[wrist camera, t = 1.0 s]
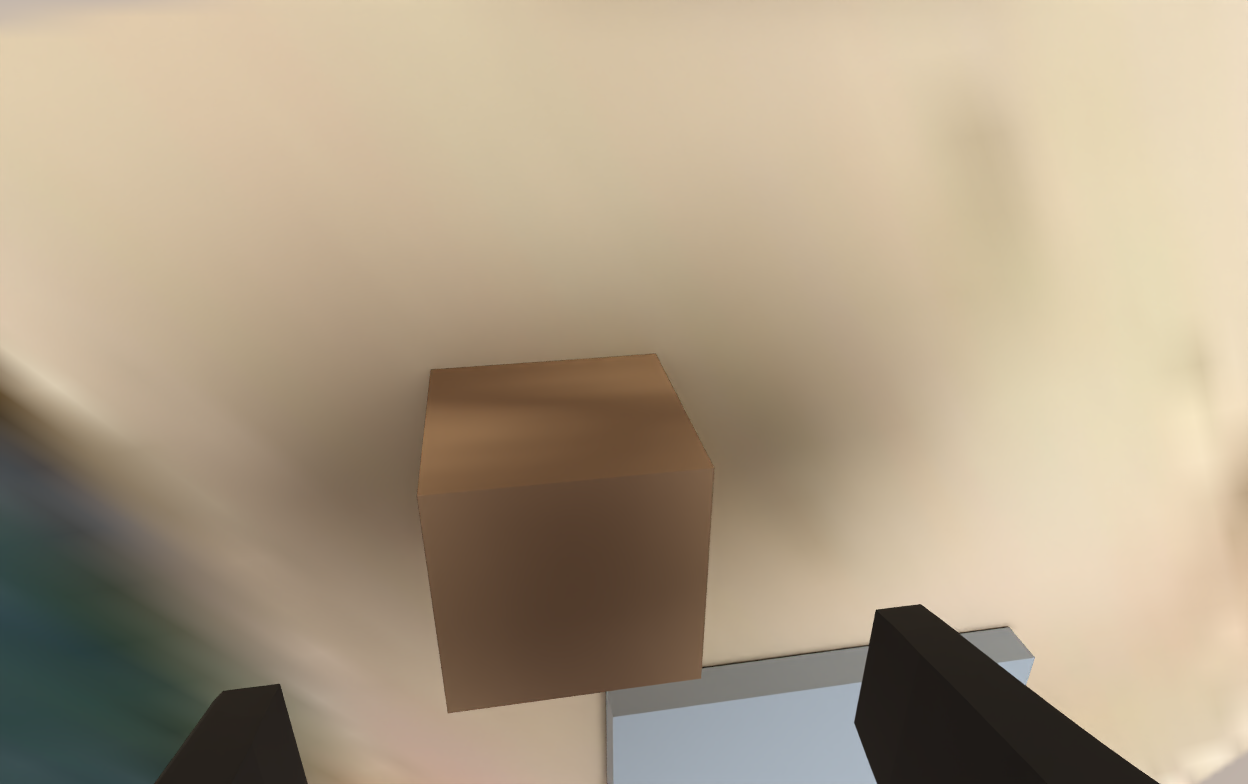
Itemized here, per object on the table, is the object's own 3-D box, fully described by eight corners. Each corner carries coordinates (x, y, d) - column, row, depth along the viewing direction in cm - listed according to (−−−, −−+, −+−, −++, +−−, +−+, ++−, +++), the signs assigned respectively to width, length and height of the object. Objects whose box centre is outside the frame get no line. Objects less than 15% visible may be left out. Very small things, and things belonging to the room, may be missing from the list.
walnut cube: (453, 550, 16) (447, 713, 12) (430, 367, 14) (416, 495, 10) (650, 529, 16) (700, 678, 13) (654, 352, 14) (714, 468, 11)
